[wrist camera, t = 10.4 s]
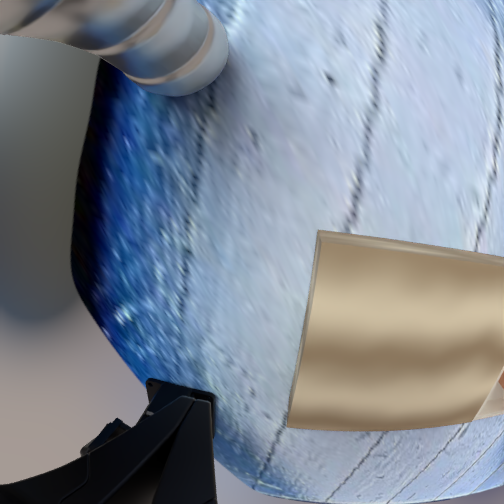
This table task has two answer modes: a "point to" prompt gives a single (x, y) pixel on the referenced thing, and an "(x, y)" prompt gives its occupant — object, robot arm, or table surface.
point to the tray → (492, 402)
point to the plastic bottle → (131, 37)
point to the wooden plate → (397, 335)
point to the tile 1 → (502, 380)
